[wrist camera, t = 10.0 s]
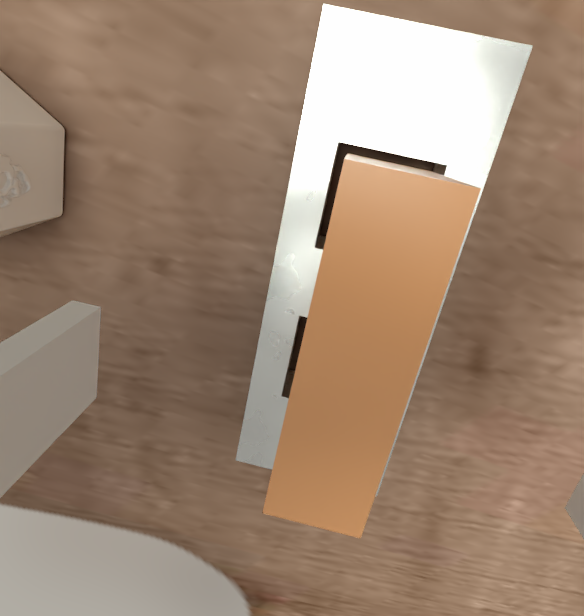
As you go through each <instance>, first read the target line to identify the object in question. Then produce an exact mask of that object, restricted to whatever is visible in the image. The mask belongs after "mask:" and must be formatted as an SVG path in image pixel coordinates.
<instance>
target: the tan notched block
mask: <svg viewBox="0 0 584 616" xmlns="http://www.w3.org/2000/svg"><path fill="white" fill-rule="evenodd" d="M480 190H481V188H478V187H475V186H472V185H470V184H467V183H464V182H461V181H458V180H455V179H452V178H449V177H447V176H444V175H441V174H438V173H435V172H432V171H429V170H424V169H419V168H415V167H410V166H406V165H401V164H396V163H392V162H387V161H383V160H378V159H373V158H369V157H364V156H360V155H355V154H350V153H347V155H346V157H345V158H344V162H343V166H342V171H341V175H340V179H339V183H338V188H337V192H336V196H335V201H334V205H333V209H332V214H331V218H330V222H329V227H328V231H327V235H326V240H325V244H324V248H323V253H322V257H321V261H320V266H319V270H318V274H317V279H316V283H315V287H314V292H313V296H312V300H311V305H310V309H309V313H308V318H307V322H306V326H305V331H304V335H303V339H302V344H301V348H300V352H299V357H298V361H297V365H296V370H295V374H294V378H293V383H292V387H291V391H290V396H289V400H288V404H287V409H286V413H285V417H284V421H283V426H282V430H281V434H280V439H279V443H278V447H277V452H276V456H275V460H274V465H273V469H272V473H271V478H270V482H269V486H268V491H267V495H266V499H265V504H264V508H263V512H262V513H264V514H268V515H272V516H276V517H280V518H283V519H287V520H291V521H295V522H299V523H303V524H307V525H310V526H314V527H318V528H322V529H326V530H330V531H334V532H337V533H341V534H345V535H349V536H353V537H357V538H361V536H362V533H363V530H364V527H365V524H366V521H367V518H368V515H369V512H370V510H371V507H372V504H373V501H374V498H375V495H376V492H377V489H378V486H379V483H380V480H381V478H382V475H383V472H384V469H385V466H386V463H387V460H388V457H389V454H390V451H391V449H392V446H393V443H394V440H395V437H396V434H397V431H398V428H399V425H400V422H401V419H402V417H403V414H404V411H405V408H406V405H407V402H408V399H409V396H410V393H411V390H412V387H413V385H414V382H415V379H416V376H417V373H418V370H419V367H420V364H421V361H422V358H423V356H424V353H425V350H426V347H427V344H428V341H429V338H430V335H431V332H432V329H433V326H434V324H435V321H436V318H437V315H438V312H439V309H440V306H441V303H442V300H443V297H444V294H445V292H446V289H447V286H448V283H449V280H450V277H451V274H452V271H453V268H454V265H455V263H456V260H457V257H458V254H459V251H460V248H461V245H462V242H463V239H464V236H465V233H466V231H467V228H468V225H469V222H470V219H471V216H472V213H473V210H474V207H475V204H476V202H477V199H478V196H479V193H480Z"/></svg>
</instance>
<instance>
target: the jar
mask: <svg viewBox="0 0 584 616" xmlns="http://www.w3.org/2000/svg"><path fill="white" fill-rule="evenodd" d="M64 142H65V130H64V127H63V126H62V125H61V124H60V123H59V122H58V121H56V120H55V119H54V118H53V117H52V116H51V115H50V114H49V113H47V112H46V111H45V110H44V109H43V108H42V107H41V106H40V105H39V104H37V103H36V102H35V101H34V100H33V99H32V98H31V97H30V96H28V95H27V94H26V93H25V92H24V91H23V90H22V89H21V88H19V87H18V86H17V85H16V84H15V83H14V82H13V81H12V80H10V79H9V78H8V77H7V76H6V75H5V74H4V73H3V72H2V71H0V237H3V236H6V235H8V234H11V233H14V232H17V231H20V230H23V229H26V228H28V227H31V226H34V225H37V224H40V223H43V222H46V221H48V220H51V219H54V218H57V217H60V216H61V215H62V213H63V177H64Z"/></svg>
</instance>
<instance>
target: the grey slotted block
mask: <svg viewBox="0 0 584 616" xmlns="http://www.w3.org/2000/svg"><path fill="white" fill-rule="evenodd" d="M531 49H532V45H527V44H522V43H517V42H512V41H507V40H502V39H497V38H492V37H487V36H482V35H477V34H472V33H467V32H462V31H457V30H452V29H447V28H442V27H437V26H432V25H427V24H422V23H417V22H412V21H407V20H402V19H397V18H392V17H387V16H382V15H377V14H372V13H367V12H362V11H357V10H352V9H347V8H342V7H337V6H332V5H327V4H323V8H322V14H321V19H320V24H319V29H318V34H317V40H316V45H315V50H314V55H313V60H312V66H311V71H310V76H309V81H308V86H307V92H306V97H305V102H304V107H303V112H302V118H301V123H300V128H299V133H298V138H297V144H296V149H295V154H294V159H293V164H292V170H291V175H290V180H289V185H288V191H287V196H286V201H285V206H284V211H283V217H282V222H281V227H280V232H279V237H278V243H277V248H276V253H275V258H274V263H273V269H272V274H271V279H270V284H269V289H268V295H267V300H266V305H265V310H264V315H263V321H262V326H261V331H260V336H259V341H258V347H257V352H256V357H255V362H254V367H253V373H252V378H251V383H250V388H249V393H248V399H247V404H246V409H245V414H244V419H243V425H242V430H241V435H240V440H239V446H238V451H237V456H236V461H240V462H244V463H248V464H252V465H256V466H260V467H264V468H268V469H273V465H274V460H275V456H276V452H277V447H278V443H279V439H280V434H281V430H282V426H283V421H284V417H285V413H286V409H287V404H288V400H289V396H290V391H291V387H292V383H293V378H294V374H295V371H294V370H290V369H289V367H290V363H291V358H292V354H293V349H294V345H295V340H296V336H297V332H298V327H299V323H300V318H301V316H303V317H307V318H308V313H309V309H310V305H311V300H312V296H313V292H314V287H315V283H316V279H317V274H318V270H319V266H320V261H321V257H322V253H323V248H324V244H325V240H326V237H325V236H320V235H319V234H320V229H321V225H322V220H323V216H324V212H325V207H326V203H327V198H328V194H329V189H330V185H331V180H332V176H333V172H334V167H335V163H336V158H337V154H338V149H339V145H340V142H342V143H346V144H351V145H355V146H360V147H365V148H369V149H374V150H379V151H383V152H388V153H393V154H397V155H402V156H406V157H411V158H416V159H420V160H425V161H430V162H434V163H435V164H434V168H433V171H432V172H435V173H438V174H441V175H444V176H447V177H449V178H452V179H455V180H458V181H461V182H464V183H467V184H470V185H472V186H475V187H478V188H481V190H480V193H479V196H478V199H477V202H476V204H475V207H474V210H473V213H472V216H471V219H470V222H469V225H468V228H467V231H466V233H465V236H464V239H463V242H462V245H461V248H460V251H459V254H458V257H457V260H456V263H455V265H454V268H453V271H452V274H451V277H450V280H449V283H448V286H447V289H446V292H445V294H444V297H443V300H442V303H441V306H440V309H439V312H438V315H437V318H436V321H435V324H434V326H433V329H432V332H431V335H430V338H429V341H428V344H427V347H426V350H425V353H424V356H423V358H422V361H421V364H420V367H419V370H418V373H417V376H416V379H415V382H414V385H413V387H412V390H411V393H410V396H409V399H408V402H407V405H406V408H405V411H404V414H403V417H402V419H401V422H400V425H399V428H398V431H397V434H396V437H395V440H394V443H393V446H392V449H391V451H390V454H389V457H388V460H387V463H386V466H385V469H384V472H383V475H382V478H381V480H380V483H379V486H378V489H377V492H376V495H375V496H377V494H378V491H379V489H380V486H381V483H382V480H383V477H384V474H385V471H386V468H387V465H388V463H389V460H390V457H391V454H392V451H393V448H394V445H395V442H396V439H397V437H398V434H399V431H400V428H401V425H402V422H403V419H404V416H405V413H406V410H407V408H408V405H409V402H410V399H411V396H412V393H413V390H414V387H415V384H416V382H417V379H418V376H419V373H420V370H421V367H422V364H423V361H424V358H425V356H426V353H427V350H428V347H429V344H430V341H431V338H432V335H433V332H434V330H435V327H436V324H437V321H438V318H439V315H440V312H441V309H442V306H443V304H444V301H445V298H446V295H447V292H448V289H449V286H450V283H451V280H452V278H453V275H454V272H455V269H456V266H457V263H458V260H459V257H460V254H461V252H462V249H463V246H464V243H465V240H466V237H467V234H468V231H469V228H470V225H471V223H472V220H473V217H474V214H475V211H476V208H477V205H478V202H479V199H480V197H481V194H482V191H483V188H484V185H485V182H486V179H487V176H488V173H489V171H490V168H491V165H492V162H493V159H494V156H495V153H496V150H497V147H498V145H499V142H500V139H501V136H502V133H503V130H504V127H505V124H506V121H507V119H508V116H509V113H510V110H511V107H512V104H513V101H514V98H515V95H516V93H517V90H518V87H519V84H520V81H521V78H522V75H523V72H524V69H525V67H526V64H527V61H528V58H529V55H530V52H531Z"/></svg>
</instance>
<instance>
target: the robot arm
mask: <svg viewBox="0 0 584 616" xmlns="http://www.w3.org/2000/svg"><path fill="white" fill-rule="evenodd" d="M100 321H101V307H99V306H95V305H90V304H86V303H82V302H77V301H73V300H72V301H70V302H69V303H67V304H65V305H64V306H62V307H60V308H59V309H57V310H55V311H53V312H52V313H50V314H48V315H47V316H45V317H43V318H42V319H40V320H38V321H36V322H35V323H33V324H31V325H30V326H28V327H26V328H25V329H23V330H21V331H19V332H18V333H16V334H14V335H13V336H11V337H9V338H8V339H6V340H4V341H2V342H1V343H0V498H1V497H2V496H3V495H4V494H5V492H6V491H7V490H8V489H9V488H10V487H11V486H12V485H13V484H14V483H15V482H16V481H17V480H18V479H19V478H20V477H21V476H22V475H23V474H24V473H25V472H26V471H27V470H28V469H29V467H30V466H31V465H32V464H33V463H34V462H35V461H36V460H37V459H38V458H39V457H40V456H41V455H42V454H43V453H44V452H45V451H46V450H47V449H48V448H49V447H50V446H51V445H52V444H53V442H54V441H55V440H56V439H57V438H58V437H59V436H60V435H61V434H62V433H63V432H64V431H65V430H66V429H67V428H68V427H69V426H70V425H71V424H72V423H73V422H74V421H75V420H76V419H77V418H78V416H79V415H80V414H81V413H82V412H83V411H84V410H85V409H86V408H87V407H88V406H89V405H90V404H91V403H92V402H93V401H94V400H95V399H96V398H97V381H98V361H99V341H100ZM565 509H566V511H567V512H568V514H569V516H570V517H571V519H572V520H573V522H574V524H575V525H576V527H577V529H578V530H579V532H580V534H581V535H582V537H583V539H584V474H583V475H582V477H581V479H580V481H579V483H578V485H577V486H576V488H575V490H574V492H573V494H572V495H571V497H570V499H569V501H568V503H567V505H566V506H565Z"/></svg>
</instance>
